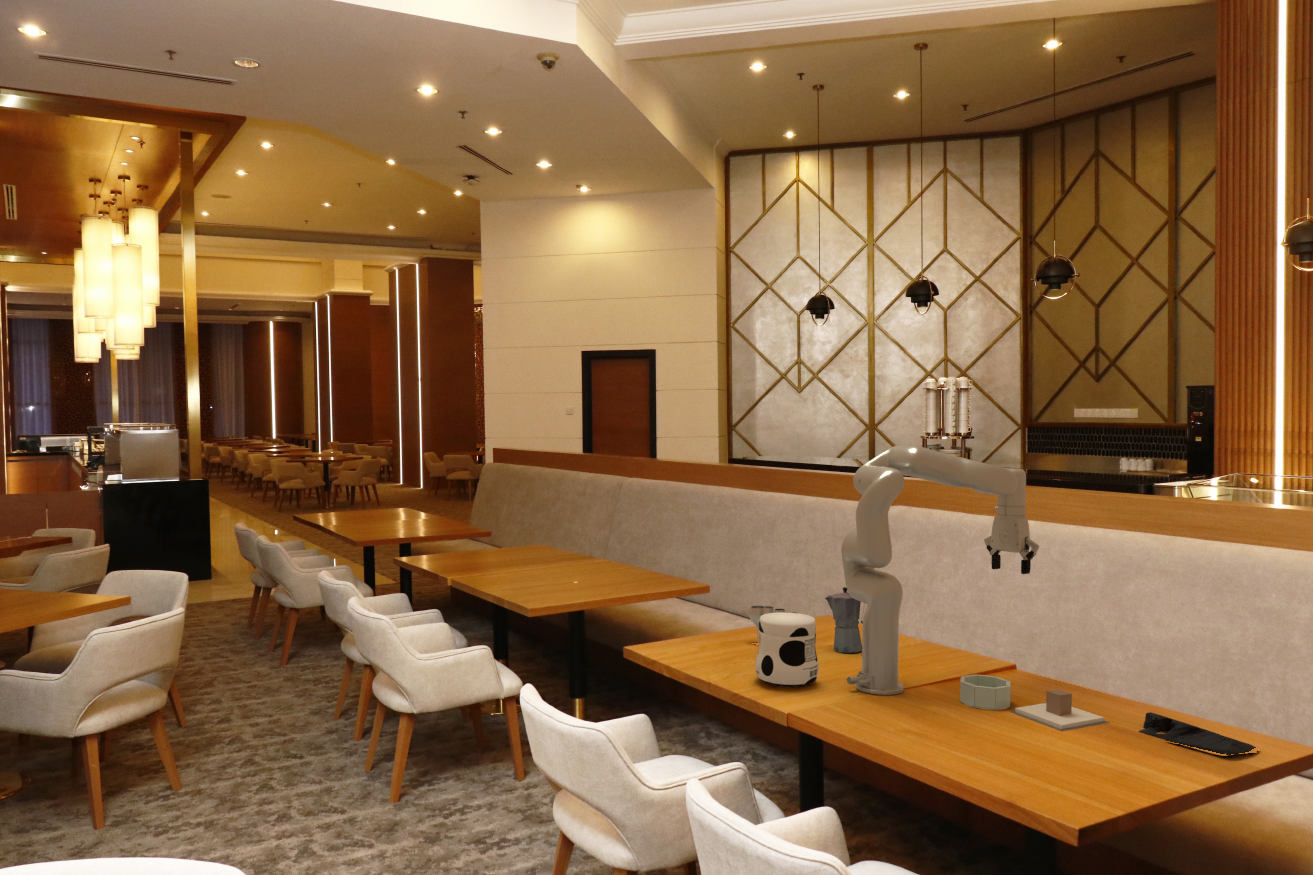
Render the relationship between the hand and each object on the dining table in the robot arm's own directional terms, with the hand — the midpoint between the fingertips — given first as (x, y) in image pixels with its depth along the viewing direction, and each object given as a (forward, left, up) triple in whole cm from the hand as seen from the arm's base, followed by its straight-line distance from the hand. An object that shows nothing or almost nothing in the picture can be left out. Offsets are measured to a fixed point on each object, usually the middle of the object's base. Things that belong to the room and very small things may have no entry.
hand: (1010, 571), depth 263 cm
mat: (-19, -34, -30) cm, 49 cm away
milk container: (-63, +19, -30) cm, 72 cm away
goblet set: (-46, +49, -30) cm, 74 cm away
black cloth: (-3, -59, -31) cm, 66 cm away
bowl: (-27, -18, -30) cm, 44 cm away
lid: (-19, -34, -29) cm, 49 cm away
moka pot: (-25, +42, -30) cm, 57 cm away
